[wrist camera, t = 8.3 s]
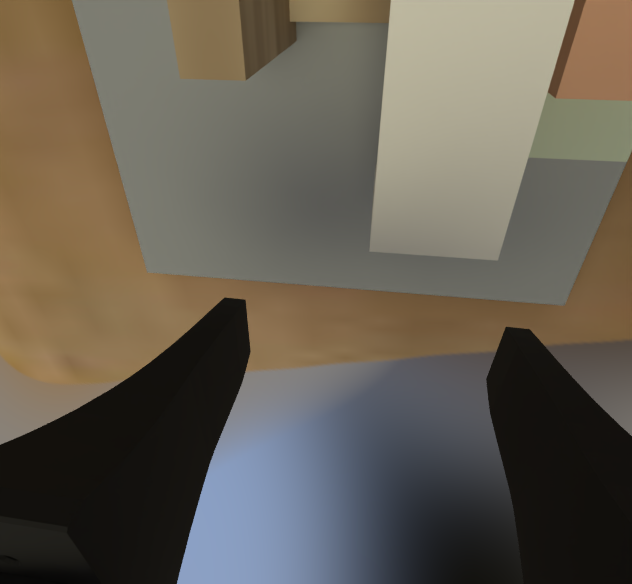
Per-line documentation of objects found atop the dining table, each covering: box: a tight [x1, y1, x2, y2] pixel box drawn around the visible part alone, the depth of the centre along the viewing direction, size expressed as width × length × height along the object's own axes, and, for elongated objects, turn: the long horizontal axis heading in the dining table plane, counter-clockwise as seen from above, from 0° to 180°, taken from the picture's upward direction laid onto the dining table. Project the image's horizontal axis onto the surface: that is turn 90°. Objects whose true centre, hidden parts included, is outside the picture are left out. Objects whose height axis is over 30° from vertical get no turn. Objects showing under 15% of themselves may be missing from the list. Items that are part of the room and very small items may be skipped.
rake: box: [167, 0, 391, 81], centre depth 12 cm, size 10×6×7 cm, turn 90°
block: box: [548, 0, 632, 101], centre depth 12 cm, size 4×4×4 cm
